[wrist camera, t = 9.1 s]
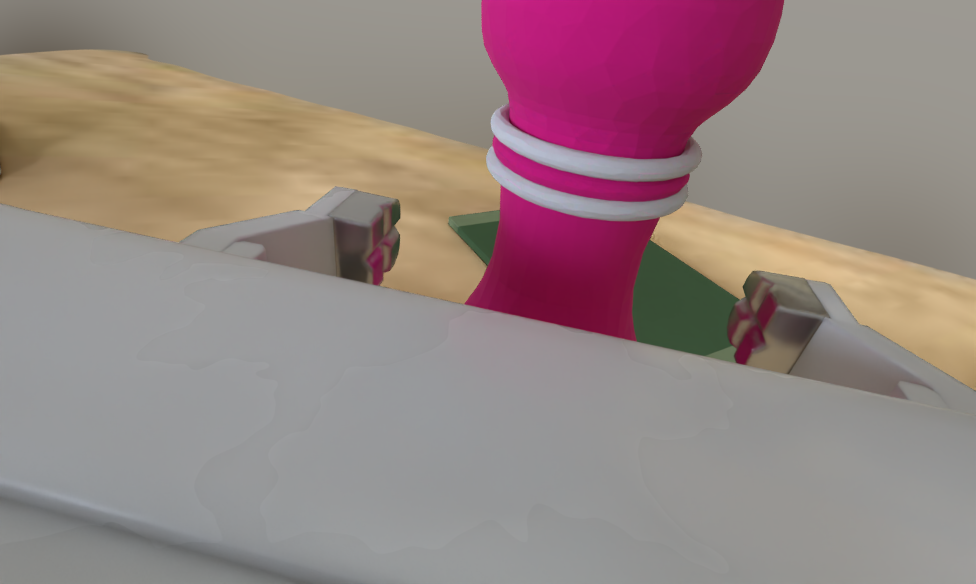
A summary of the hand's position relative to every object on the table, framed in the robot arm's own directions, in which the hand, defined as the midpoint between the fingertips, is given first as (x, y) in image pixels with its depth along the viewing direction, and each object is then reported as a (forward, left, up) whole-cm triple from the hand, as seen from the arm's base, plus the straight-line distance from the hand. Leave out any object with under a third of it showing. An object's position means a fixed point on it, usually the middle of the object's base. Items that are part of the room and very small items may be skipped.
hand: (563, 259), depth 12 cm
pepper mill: (-2, +1, -11) cm, 11 cm away
